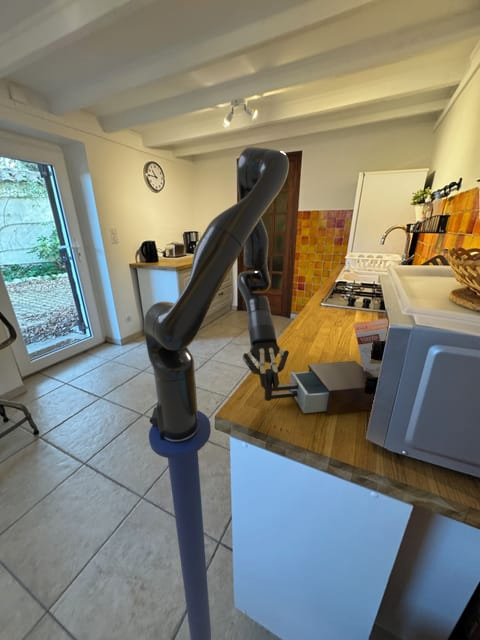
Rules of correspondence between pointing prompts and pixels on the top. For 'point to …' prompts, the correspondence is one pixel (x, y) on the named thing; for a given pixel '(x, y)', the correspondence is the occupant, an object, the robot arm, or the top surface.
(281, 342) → the top surface
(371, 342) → the cracker box
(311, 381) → the drawer
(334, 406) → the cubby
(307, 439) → the top surface
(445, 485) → the top surface
